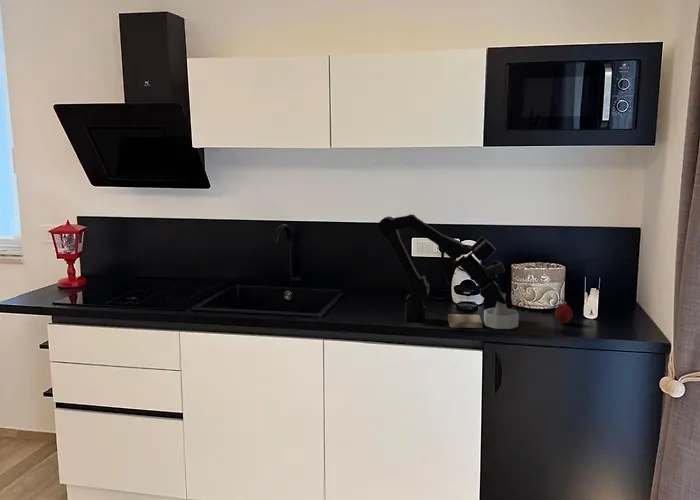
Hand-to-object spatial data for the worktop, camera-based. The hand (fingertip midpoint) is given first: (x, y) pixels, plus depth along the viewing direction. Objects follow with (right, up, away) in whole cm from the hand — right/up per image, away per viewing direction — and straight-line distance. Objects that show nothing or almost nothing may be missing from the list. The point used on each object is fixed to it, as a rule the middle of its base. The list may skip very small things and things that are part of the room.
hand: (505, 302), depth 222 cm
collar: (-1, -8, +2) cm, 8 cm away
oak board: (-14, -8, +2) cm, 16 cm away
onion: (+21, -8, +2) cm, 22 cm away
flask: (-1, -7, +1) cm, 7 cm away
